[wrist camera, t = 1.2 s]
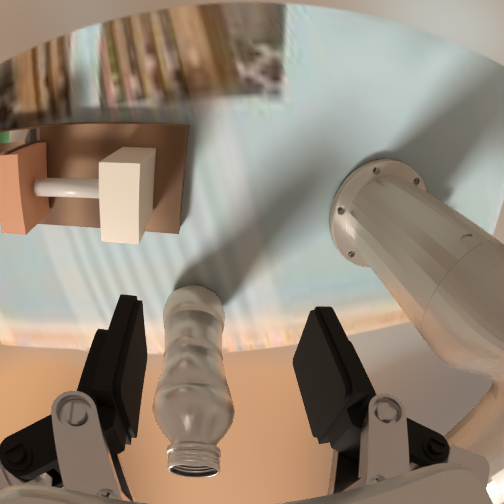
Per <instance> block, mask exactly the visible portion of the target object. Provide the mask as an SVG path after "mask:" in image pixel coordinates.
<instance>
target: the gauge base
mask: <svg viewBox="0 0 504 504" xmlns="http://www.w3.org/2000/svg"><path fill="white" fill-rule="evenodd" d="M30 129H36V143H42V142H46V159H47V178H89V179H99V162H100V161H102V160H103V159H105V158H106V157H108V156H109V155H111V154H112V153H114V152H116V151H117V150H119V149H120V148H122V147H141V148H156V157H155V172H154V192H153V214H152V216H151V218H150V220H149V223H148V225H147V227H146V229H145V231H148V232H161V233H174V234H179V230H180V222H181V207H182V194H183V182H184V171H185V160H186V151H187V142H188V133H189V125H179V124H163V123H137V122H88V123H64V124H49V125H37V126H26V127H17V128H9V129H2V130H0V153H1V152H4V151H6V150H8V149H11V148H13V147H16V146H18V145H21V144H26V143H29V142H30ZM49 207H50V213H48V214H47V215H46V216H45V217H44V218H43V219H42V220H41V221H40V222H39V223H38V224H50V225H65V226H80V227H94V228H101V226H100V207H99V198H77V197H49Z"/></svg>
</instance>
